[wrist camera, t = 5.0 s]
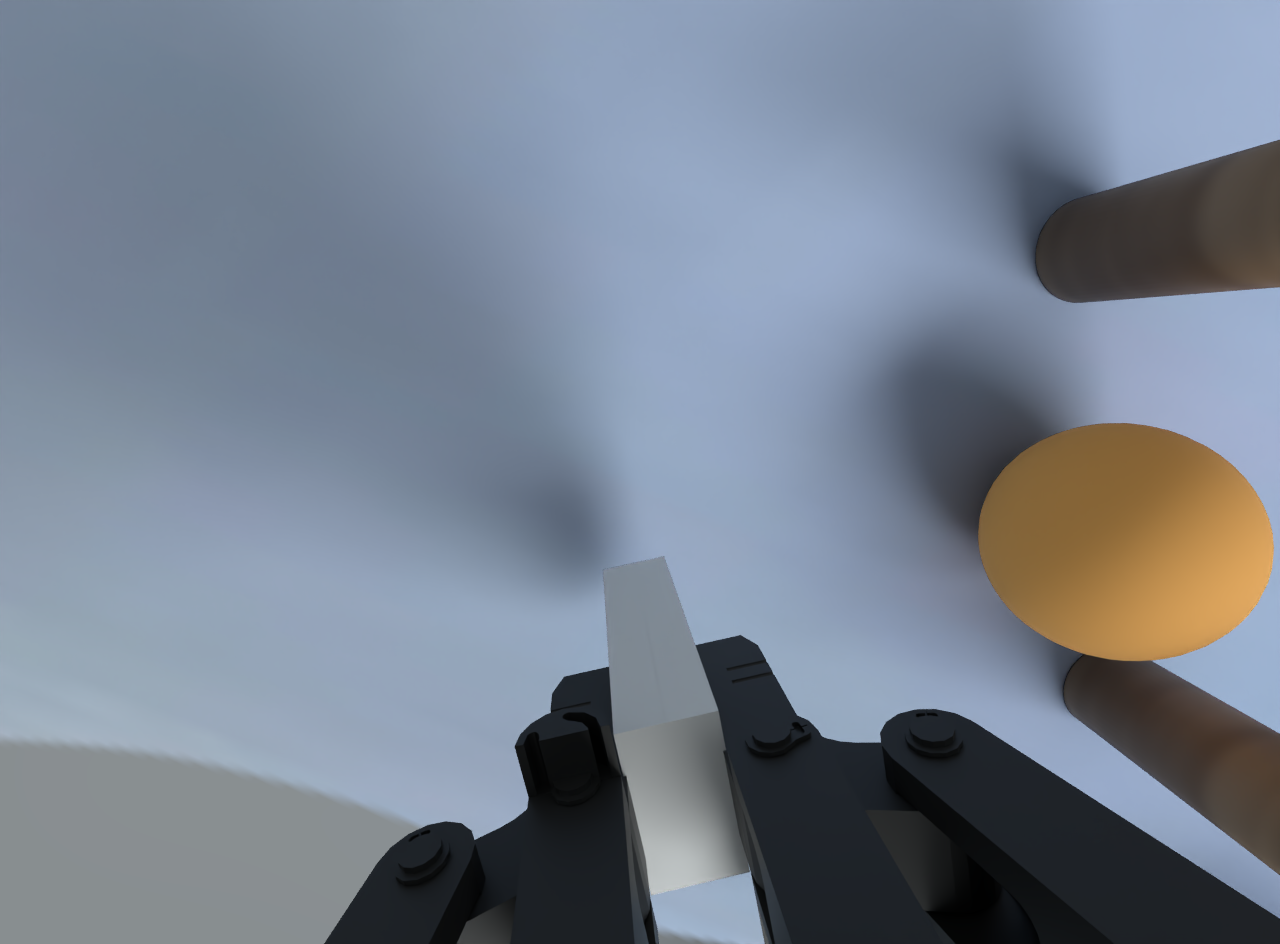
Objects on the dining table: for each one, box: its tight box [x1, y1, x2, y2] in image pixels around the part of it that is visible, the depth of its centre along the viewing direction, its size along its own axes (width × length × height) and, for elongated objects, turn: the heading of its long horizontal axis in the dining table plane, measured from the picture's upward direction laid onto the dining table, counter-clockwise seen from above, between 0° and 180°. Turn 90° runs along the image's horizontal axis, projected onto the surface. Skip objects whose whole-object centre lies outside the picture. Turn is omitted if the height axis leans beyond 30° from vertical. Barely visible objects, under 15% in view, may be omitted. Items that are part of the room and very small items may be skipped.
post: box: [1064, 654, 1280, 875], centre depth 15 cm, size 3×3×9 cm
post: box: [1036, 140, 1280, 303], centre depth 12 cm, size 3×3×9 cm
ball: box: [978, 423, 1274, 661], centre depth 15 cm, size 6×6×6 cm
